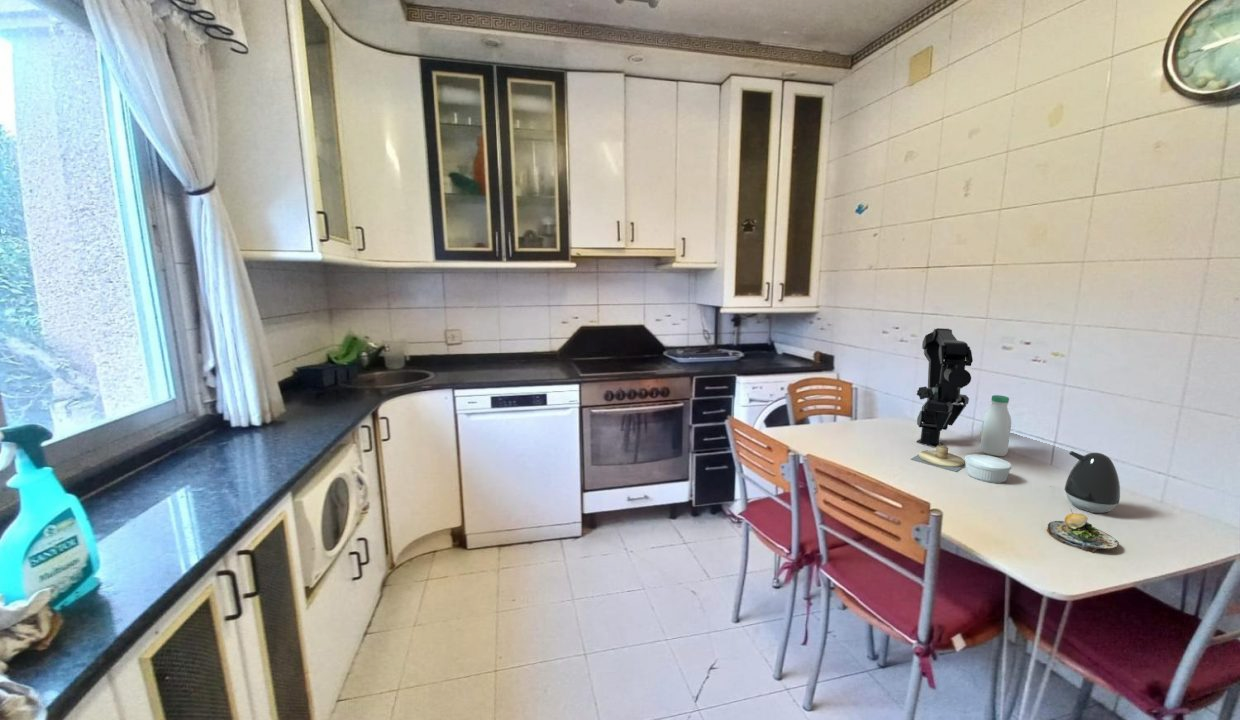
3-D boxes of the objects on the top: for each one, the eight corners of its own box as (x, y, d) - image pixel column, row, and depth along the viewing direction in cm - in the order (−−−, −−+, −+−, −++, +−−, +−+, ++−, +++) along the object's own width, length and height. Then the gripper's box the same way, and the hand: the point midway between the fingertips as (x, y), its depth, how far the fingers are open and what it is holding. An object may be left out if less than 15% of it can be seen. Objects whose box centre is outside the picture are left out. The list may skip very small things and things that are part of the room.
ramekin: (960, 477, 142) (962, 461, 141) (965, 466, 150) (967, 451, 149) (1007, 488, 135) (1010, 471, 134) (1010, 476, 143) (1012, 460, 142)
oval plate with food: (1101, 560, 101) (1107, 528, 99) (1035, 533, 111) (1040, 504, 110) (1128, 547, 105) (1135, 517, 104) (1063, 522, 116) (1068, 494, 115)
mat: (926, 450, 164) (926, 450, 164) (970, 462, 154) (970, 461, 154) (910, 459, 156) (910, 458, 156) (956, 472, 146) (956, 471, 146)
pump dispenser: (1062, 495, 130) (1071, 443, 128) (1116, 508, 123) (1126, 453, 120) (1059, 507, 123) (1069, 452, 121) (1117, 522, 116) (1128, 464, 113)
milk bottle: (1012, 456, 158) (1021, 399, 155) (989, 456, 159) (997, 399, 155) (995, 448, 166) (1003, 393, 163) (973, 448, 166) (980, 393, 163)
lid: (927, 450, 163) (928, 438, 163) (969, 461, 154) (971, 448, 153) (912, 458, 156) (913, 446, 155) (956, 470, 146) (957, 457, 145)
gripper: (933, 373, 162) (928, 417, 165) (910, 380, 151) (905, 427, 154) (972, 378, 153) (966, 424, 156) (950, 386, 142) (944, 435, 145)
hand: (944, 427), depth 153 cm, fingers open, 9 cm apart
